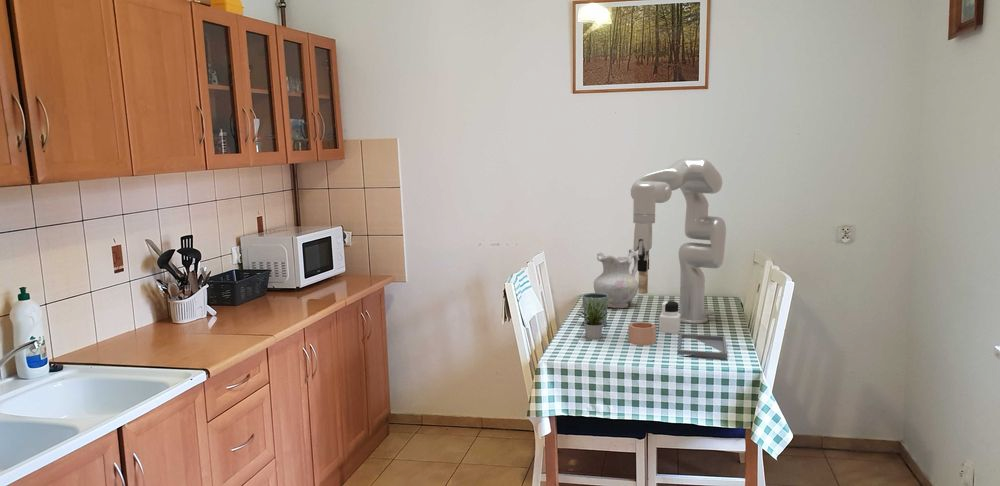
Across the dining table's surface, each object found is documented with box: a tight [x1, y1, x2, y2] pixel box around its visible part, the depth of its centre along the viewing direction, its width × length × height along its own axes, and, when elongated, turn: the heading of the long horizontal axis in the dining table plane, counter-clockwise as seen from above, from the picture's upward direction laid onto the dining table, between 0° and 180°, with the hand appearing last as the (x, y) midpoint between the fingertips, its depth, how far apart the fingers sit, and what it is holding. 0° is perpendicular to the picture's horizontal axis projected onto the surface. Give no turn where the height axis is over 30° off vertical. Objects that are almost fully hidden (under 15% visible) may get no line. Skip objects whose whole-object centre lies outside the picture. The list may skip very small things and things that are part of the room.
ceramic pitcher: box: [593, 248, 639, 309], centre depth 320 cm, size 22×20×25 cm
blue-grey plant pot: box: [581, 292, 608, 328], centre depth 287 cm, size 10×10×12 cm
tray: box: [677, 333, 728, 361], centre depth 252 cm, size 22×16×2 cm
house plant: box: [574, 297, 613, 340], centre depth 265 cm, size 14×14×16 cm
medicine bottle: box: [658, 300, 681, 334], centre depth 274 cm, size 7×7×12 cm
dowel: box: [637, 255, 649, 295], centre depth 256 cm, size 3×3×14 cm
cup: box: [627, 321, 657, 346], centre depth 259 cm, size 9×9×7 cm
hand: (643, 269), depth 256 cm, fingers closed on dowel, 3 cm apart
